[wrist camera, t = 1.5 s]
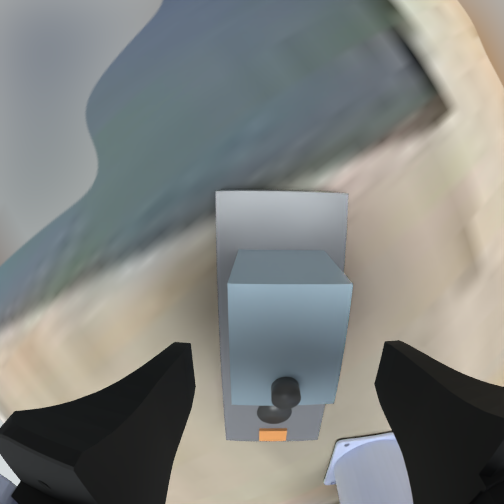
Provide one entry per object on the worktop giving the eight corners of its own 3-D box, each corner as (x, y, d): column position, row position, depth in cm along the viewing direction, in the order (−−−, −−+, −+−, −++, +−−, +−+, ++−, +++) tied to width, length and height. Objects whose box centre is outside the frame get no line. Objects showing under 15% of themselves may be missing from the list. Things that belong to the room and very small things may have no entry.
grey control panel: (337, 191, 18) (349, 193, 15) (313, 418, 22) (317, 442, 19) (221, 189, 18) (214, 191, 15) (229, 418, 22) (225, 442, 19)
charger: (318, 243, 18) (359, 291, 10) (311, 330, 19) (336, 414, 11) (240, 242, 18) (224, 291, 10) (241, 330, 19) (230, 416, 11)
